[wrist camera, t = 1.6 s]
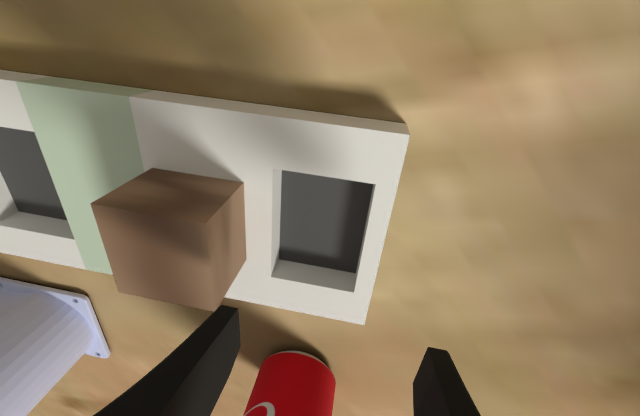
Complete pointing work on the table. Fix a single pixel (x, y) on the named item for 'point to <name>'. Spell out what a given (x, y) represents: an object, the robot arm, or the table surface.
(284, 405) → the beverage can
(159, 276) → the block
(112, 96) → the trap board
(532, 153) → the table surface
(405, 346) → the table surface
